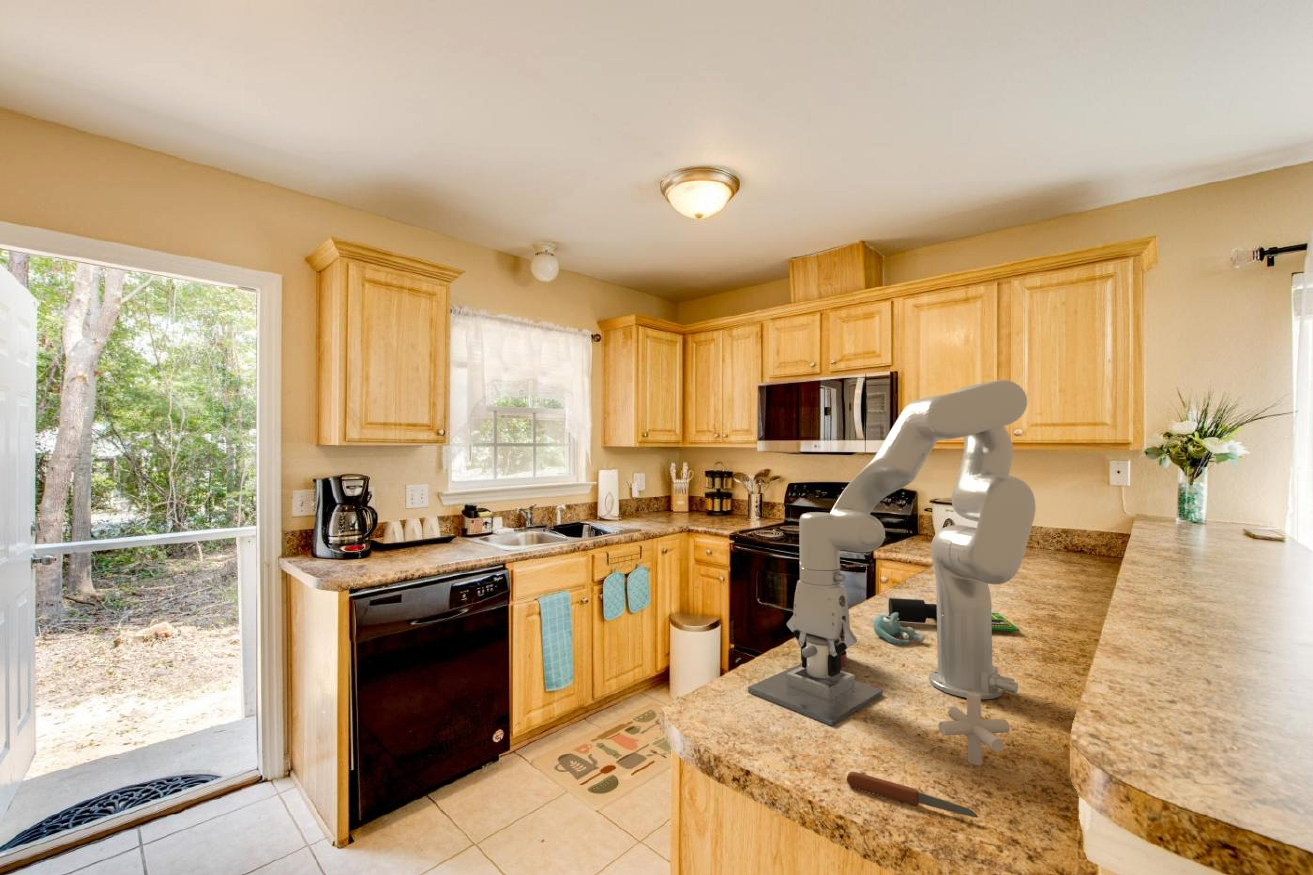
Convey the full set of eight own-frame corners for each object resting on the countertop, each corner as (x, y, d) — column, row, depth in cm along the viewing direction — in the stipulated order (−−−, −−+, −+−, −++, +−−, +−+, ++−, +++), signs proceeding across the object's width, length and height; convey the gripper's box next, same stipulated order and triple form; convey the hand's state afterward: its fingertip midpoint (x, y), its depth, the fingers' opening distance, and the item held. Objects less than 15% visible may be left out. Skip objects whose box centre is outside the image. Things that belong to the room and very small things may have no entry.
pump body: (840, 673, 107) (840, 636, 107) (818, 684, 102) (818, 646, 102) (816, 665, 111) (815, 630, 111) (793, 675, 106) (793, 638, 106)
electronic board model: (997, 594, 154) (1019, 609, 140) (997, 619, 154) (1019, 636, 140) (883, 588, 161) (893, 601, 147) (883, 612, 161) (893, 627, 146)
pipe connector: (923, 745, 87) (922, 681, 87) (983, 743, 88) (982, 679, 88) (964, 783, 77) (963, 710, 77) (1031, 779, 78) (1030, 707, 78)
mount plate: (882, 695, 105) (882, 678, 105) (832, 726, 93) (832, 706, 93) (801, 668, 118) (801, 653, 119) (748, 692, 106) (747, 675, 107)
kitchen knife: (846, 787, 76) (846, 773, 76) (848, 782, 77) (848, 768, 77) (978, 827, 68) (977, 811, 68) (978, 821, 69) (978, 804, 69)
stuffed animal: (923, 628, 129) (870, 610, 136) (917, 657, 130) (865, 638, 136) (931, 617, 138) (881, 601, 145) (926, 644, 138) (876, 627, 145)
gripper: (870, 580, 104) (872, 678, 103) (793, 567, 117) (794, 654, 116) (850, 587, 99) (851, 689, 98) (772, 572, 112) (772, 663, 111)
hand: (820, 669), depth 107 cm, fingers closed on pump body, 5 cm apart
